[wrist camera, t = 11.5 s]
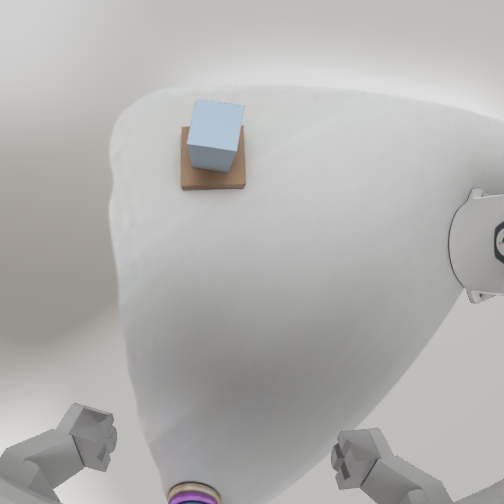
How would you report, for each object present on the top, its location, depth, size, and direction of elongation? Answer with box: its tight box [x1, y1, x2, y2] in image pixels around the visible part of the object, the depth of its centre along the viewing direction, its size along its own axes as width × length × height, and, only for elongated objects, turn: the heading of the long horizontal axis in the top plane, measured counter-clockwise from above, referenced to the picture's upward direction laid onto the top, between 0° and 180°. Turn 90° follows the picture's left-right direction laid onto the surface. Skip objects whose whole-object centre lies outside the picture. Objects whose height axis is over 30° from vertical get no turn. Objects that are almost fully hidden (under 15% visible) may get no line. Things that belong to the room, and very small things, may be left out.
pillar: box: [187, 99, 245, 172], centre depth 28 cm, size 4×4×10 cm
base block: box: [181, 126, 245, 190], centre depth 35 cm, size 7×7×3 cm
